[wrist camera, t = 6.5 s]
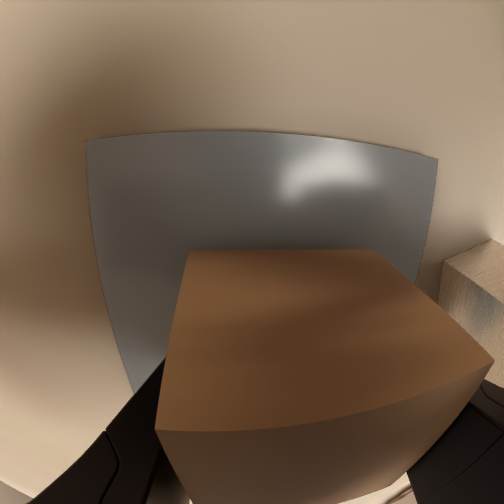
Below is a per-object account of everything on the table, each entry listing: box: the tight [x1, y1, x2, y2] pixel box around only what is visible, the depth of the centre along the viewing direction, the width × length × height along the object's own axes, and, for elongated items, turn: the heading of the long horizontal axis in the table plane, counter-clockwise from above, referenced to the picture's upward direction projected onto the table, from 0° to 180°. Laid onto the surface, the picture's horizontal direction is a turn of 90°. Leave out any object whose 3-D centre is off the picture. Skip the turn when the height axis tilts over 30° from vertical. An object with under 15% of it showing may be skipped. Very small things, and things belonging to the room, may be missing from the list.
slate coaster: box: [86, 131, 438, 394], centre depth 9 cm, size 11×11×1 cm
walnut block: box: [155, 249, 495, 504], centre depth 6 cm, size 5×5×5 cm
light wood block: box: [437, 239, 504, 388], centre depth 8 cm, size 4×4×6 cm
